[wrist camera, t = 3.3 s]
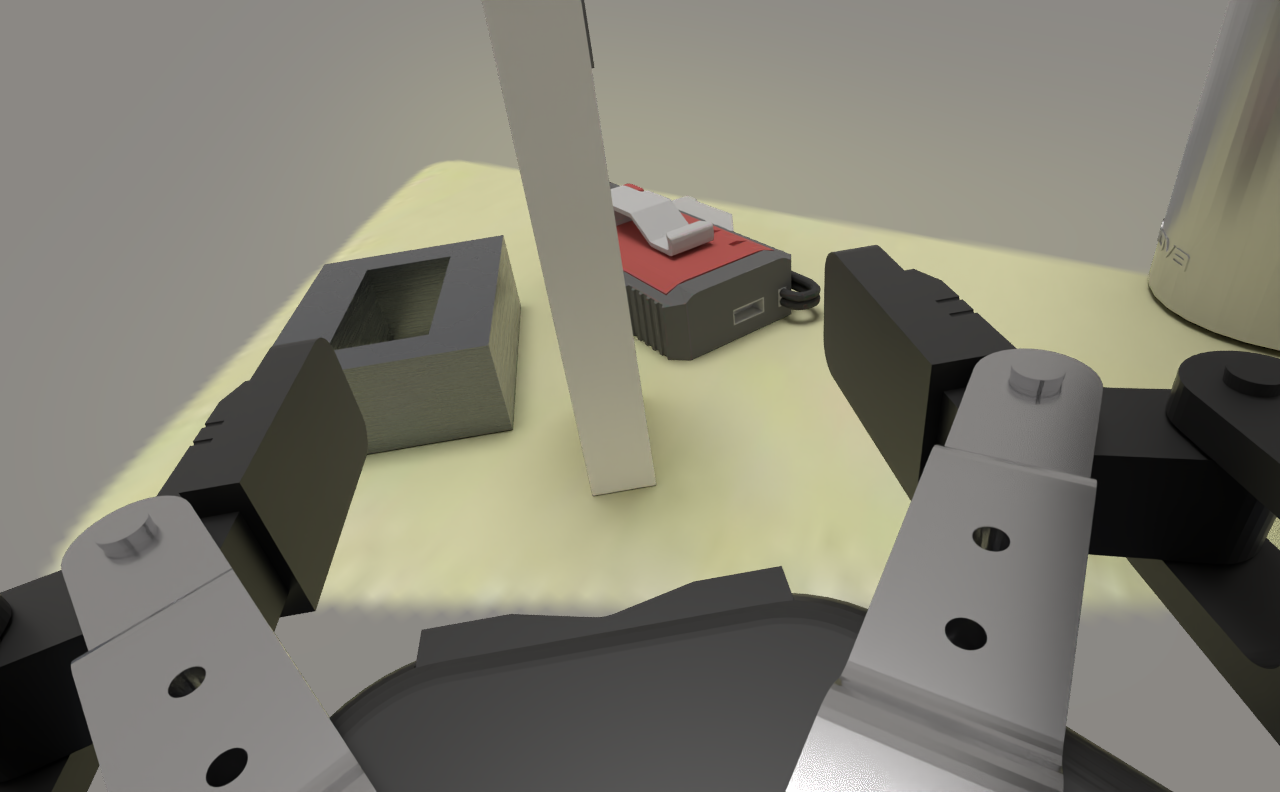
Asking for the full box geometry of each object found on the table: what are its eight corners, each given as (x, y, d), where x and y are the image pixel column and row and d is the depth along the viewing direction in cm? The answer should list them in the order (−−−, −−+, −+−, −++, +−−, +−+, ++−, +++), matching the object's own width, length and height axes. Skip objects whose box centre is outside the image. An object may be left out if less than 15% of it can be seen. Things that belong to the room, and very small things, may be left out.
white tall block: (659, 484, 22) (571, -99, 14) (592, 495, 22) (462, -82, 14) (641, 395, 26) (565, -95, 18) (585, 405, 26) (482, -82, 18)
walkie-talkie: (860, 308, 30) (618, 203, 45) (865, 207, 28) (607, 131, 43) (692, 388, 27) (489, 246, 42) (682, 281, 25) (470, 170, 39)
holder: (512, 429, 26) (488, 345, 24) (289, 467, 26) (247, 385, 24) (520, 305, 34) (503, 235, 32) (352, 333, 34) (324, 264, 32)
